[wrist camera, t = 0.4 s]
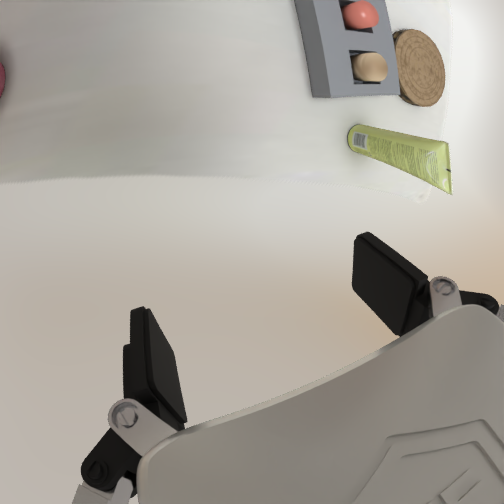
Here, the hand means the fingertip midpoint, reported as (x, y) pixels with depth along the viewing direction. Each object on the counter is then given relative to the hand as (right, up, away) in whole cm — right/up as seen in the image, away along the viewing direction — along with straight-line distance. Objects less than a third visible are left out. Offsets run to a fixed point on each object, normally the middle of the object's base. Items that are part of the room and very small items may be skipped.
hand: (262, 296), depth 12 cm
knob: (+15, +29, +22) cm, 40 cm away
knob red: (+14, +36, +17) cm, 43 cm away
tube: (+17, +21, +31) cm, 41 cm away
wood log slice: (+30, +37, +27) cm, 55 cm away
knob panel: (+13, +38, +20) cm, 45 cm away
